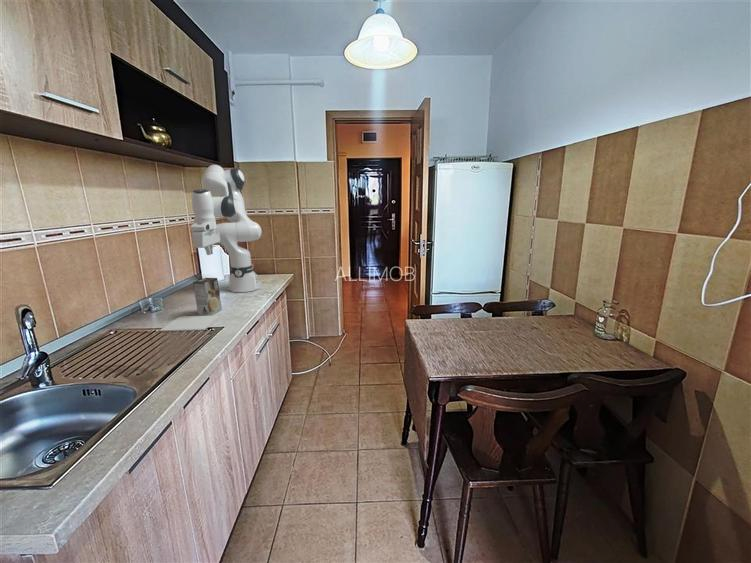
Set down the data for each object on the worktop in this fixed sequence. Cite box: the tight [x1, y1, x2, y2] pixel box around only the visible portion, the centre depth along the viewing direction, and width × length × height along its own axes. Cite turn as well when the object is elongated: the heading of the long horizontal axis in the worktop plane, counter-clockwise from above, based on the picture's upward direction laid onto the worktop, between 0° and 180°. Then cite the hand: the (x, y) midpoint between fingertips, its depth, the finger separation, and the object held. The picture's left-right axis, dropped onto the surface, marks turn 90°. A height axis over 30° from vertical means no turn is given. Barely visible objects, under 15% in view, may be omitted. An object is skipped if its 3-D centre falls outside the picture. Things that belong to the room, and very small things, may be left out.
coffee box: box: [192, 277, 223, 316], centre depth 157 cm, size 9×6×16 cm
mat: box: [159, 314, 221, 332], centre depth 146 cm, size 16×18×1 cm
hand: (209, 254), depth 160 cm, fingers closed
